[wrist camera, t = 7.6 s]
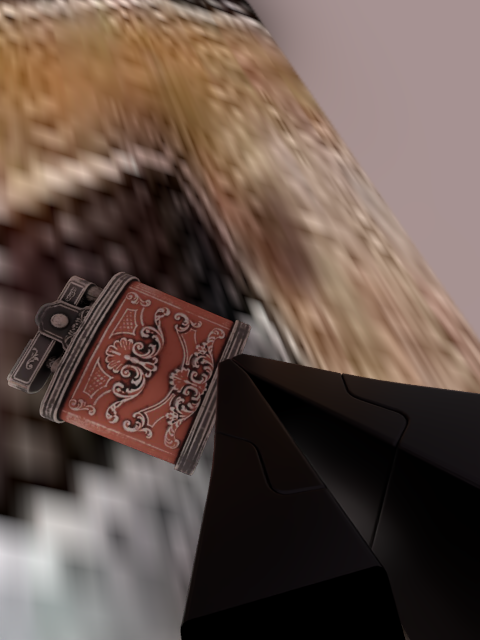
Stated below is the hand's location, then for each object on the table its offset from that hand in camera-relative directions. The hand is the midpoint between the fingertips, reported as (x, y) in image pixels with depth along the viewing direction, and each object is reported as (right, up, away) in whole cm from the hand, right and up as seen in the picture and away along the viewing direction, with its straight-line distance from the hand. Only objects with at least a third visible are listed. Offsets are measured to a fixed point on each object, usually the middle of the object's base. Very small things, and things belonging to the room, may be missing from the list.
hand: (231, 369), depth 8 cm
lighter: (-1, -3, +6) cm, 6 cm away
